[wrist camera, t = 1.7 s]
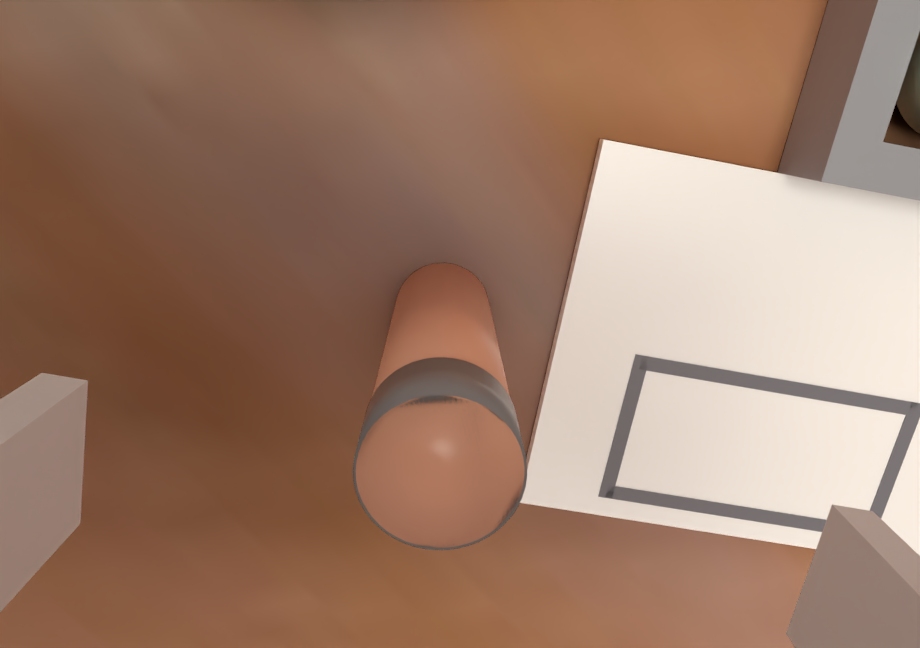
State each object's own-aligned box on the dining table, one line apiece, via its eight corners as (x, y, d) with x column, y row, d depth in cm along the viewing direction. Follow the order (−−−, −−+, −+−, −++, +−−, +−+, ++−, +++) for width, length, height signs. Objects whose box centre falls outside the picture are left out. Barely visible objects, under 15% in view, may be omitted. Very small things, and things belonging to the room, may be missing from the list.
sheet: (518, 494, 28) (519, 503, 27) (599, 138, 24) (604, 139, 24) (924, 558, 29) (935, 568, 28) (1059, 227, 25) (1075, 230, 25)
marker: (387, 345, 26) (341, 536, 15) (402, 253, 25) (366, 378, 14) (480, 361, 26) (508, 561, 15) (499, 270, 25) (543, 408, 14)
